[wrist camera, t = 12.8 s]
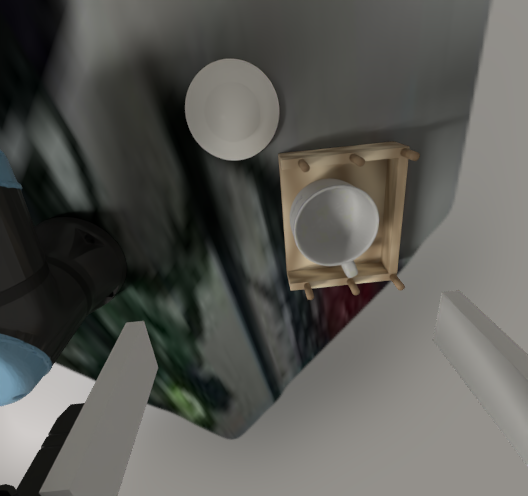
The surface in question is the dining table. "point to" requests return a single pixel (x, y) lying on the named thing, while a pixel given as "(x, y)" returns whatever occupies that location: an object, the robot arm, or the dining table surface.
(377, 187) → the rack
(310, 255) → the teacup
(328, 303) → the dining table surface
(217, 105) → the saucer
